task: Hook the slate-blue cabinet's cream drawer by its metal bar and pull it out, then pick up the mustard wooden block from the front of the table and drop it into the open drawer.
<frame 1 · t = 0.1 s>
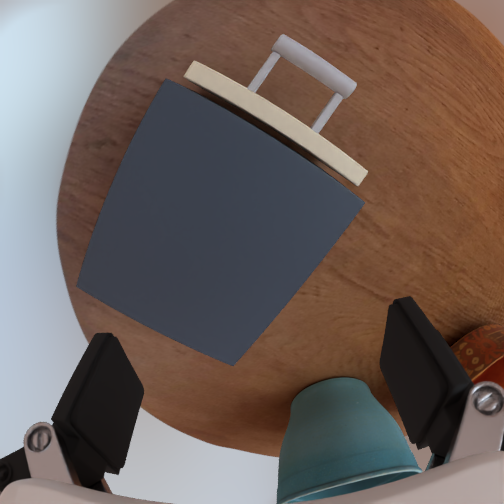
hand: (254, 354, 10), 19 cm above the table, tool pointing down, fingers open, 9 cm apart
drawer: (242, 168, 21), point 5 cm above the table, slide at 0.5 cm
cabinet: (216, 204, 27), on the table
bowl: (461, 354, 38), on the table
flower pot: (328, 400, 40), on the table
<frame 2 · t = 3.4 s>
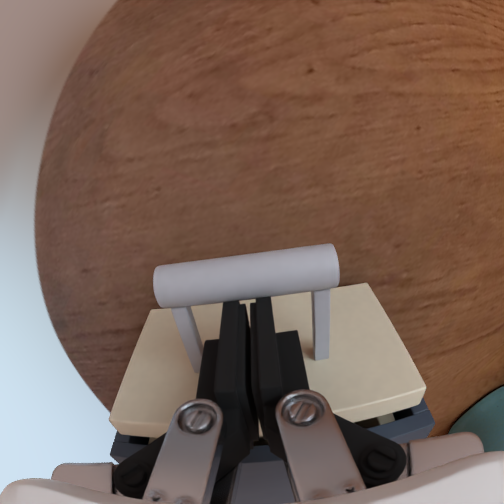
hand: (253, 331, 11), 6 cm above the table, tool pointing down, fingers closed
drawer: (270, 407, 15), point 5 cm above the table, slide at 0.5 cm, touching gripper
cabinet: (272, 391, 21), on the table
flower pot: (481, 411, 27), on the table
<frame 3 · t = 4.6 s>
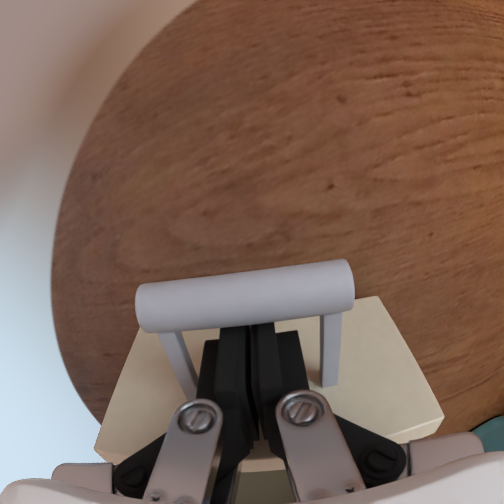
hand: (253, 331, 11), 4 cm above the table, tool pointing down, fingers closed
drawer: (271, 430, 13), point 5 cm above the table, slide at 6.2 cm, touching gripper
flower pot: (470, 439, 28), on the table
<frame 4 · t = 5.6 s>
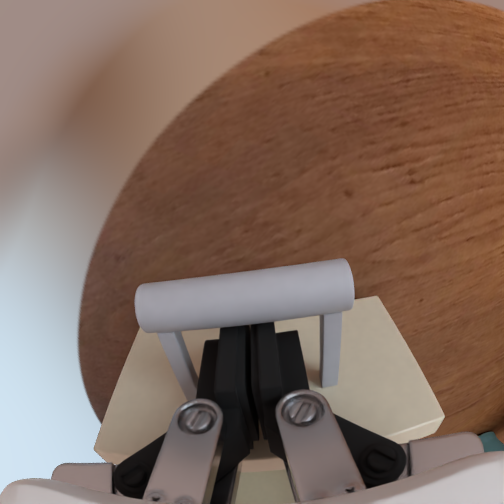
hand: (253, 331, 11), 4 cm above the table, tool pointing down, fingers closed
drawer: (271, 430, 13), point 5 cm above the table, slide at 10.5 cm, touching gripper
flower pot: (461, 451, 30), on the table
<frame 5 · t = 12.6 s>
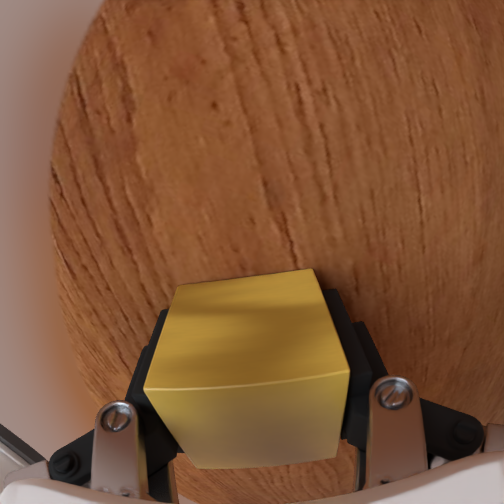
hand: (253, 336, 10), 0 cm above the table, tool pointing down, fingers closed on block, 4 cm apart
block: (253, 329, 11), on the table, touching gripper
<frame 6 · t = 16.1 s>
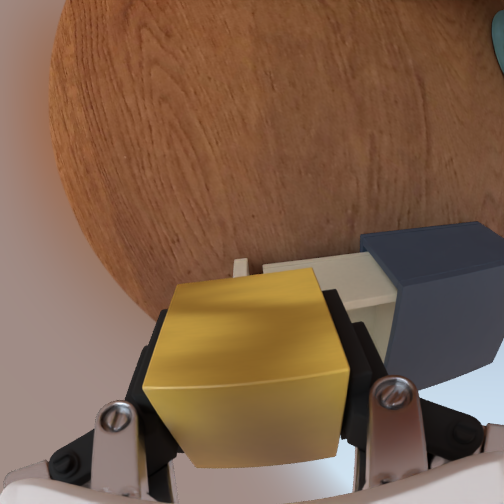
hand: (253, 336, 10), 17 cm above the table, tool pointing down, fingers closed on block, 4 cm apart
drawer: (295, 333, 26), point 5 cm above the table, slide at 10.9 cm
cabinet: (419, 282, 30), on the table
block: (252, 328, 11), point 17 cm above the table, touching gripper
when the fingers open (8 cm above the table, at t = 20.1 s): block drops 5 cm, resting on drawer.
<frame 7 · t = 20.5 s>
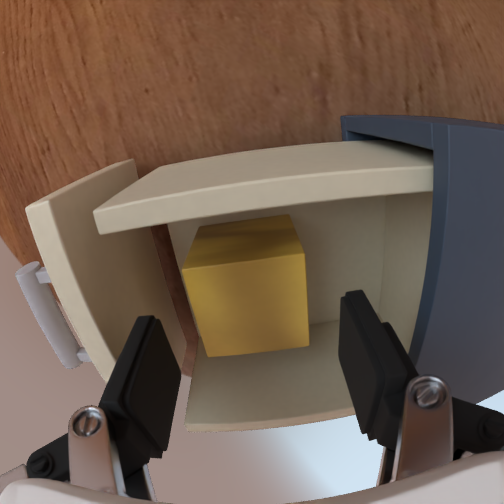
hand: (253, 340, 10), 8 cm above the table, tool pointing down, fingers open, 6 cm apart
drawer: (215, 294, 13), point 5 cm above the table, slide at 10.9 cm, touching block
cabinet: (450, 219, 17), on the table
block: (249, 260, 16), point 2 cm above the table, touching drawer
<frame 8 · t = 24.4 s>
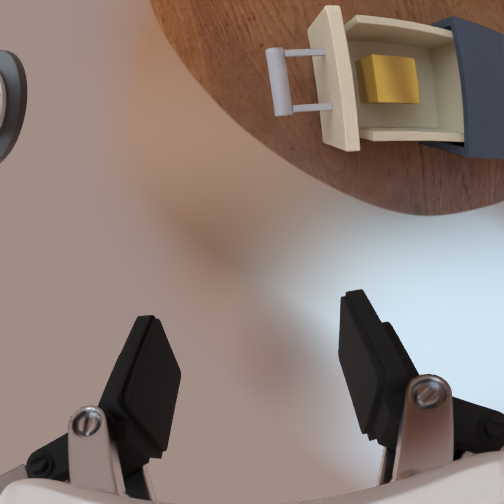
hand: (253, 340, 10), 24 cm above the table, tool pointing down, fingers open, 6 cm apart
drawer: (374, 80, 22), point 5 cm above the table, slide at 10.9 cm, touching block
cabinet: (462, 93, 26), on the table
block: (377, 82, 25), point 2 cm above the table, touching drawer
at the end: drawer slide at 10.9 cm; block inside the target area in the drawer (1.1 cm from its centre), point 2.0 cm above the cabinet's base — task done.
